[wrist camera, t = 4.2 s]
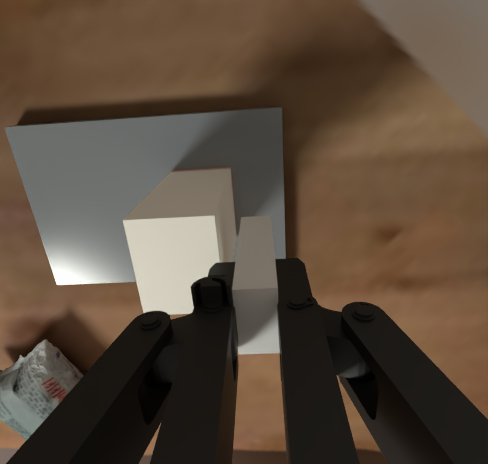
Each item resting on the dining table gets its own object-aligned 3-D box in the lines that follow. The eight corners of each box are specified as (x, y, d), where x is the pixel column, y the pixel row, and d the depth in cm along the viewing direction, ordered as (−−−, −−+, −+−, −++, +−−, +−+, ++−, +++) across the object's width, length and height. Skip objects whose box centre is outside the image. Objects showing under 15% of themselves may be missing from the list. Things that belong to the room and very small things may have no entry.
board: (64, 276, 28) (56, 284, 27) (16, 125, 24) (4, 127, 22) (285, 267, 27) (286, 276, 26) (280, 106, 22) (281, 107, 21)
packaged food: (59, 321, 30) (23, 363, 26) (142, 405, 34) (124, 455, 30) (-7, 357, 33) (-50, 402, 28) (78, 432, 36) (52, 482, 32)
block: (182, 238, 25) (144, 315, 17) (171, 170, 23) (122, 220, 15) (236, 235, 25) (225, 312, 17) (230, 167, 23) (214, 215, 15)
